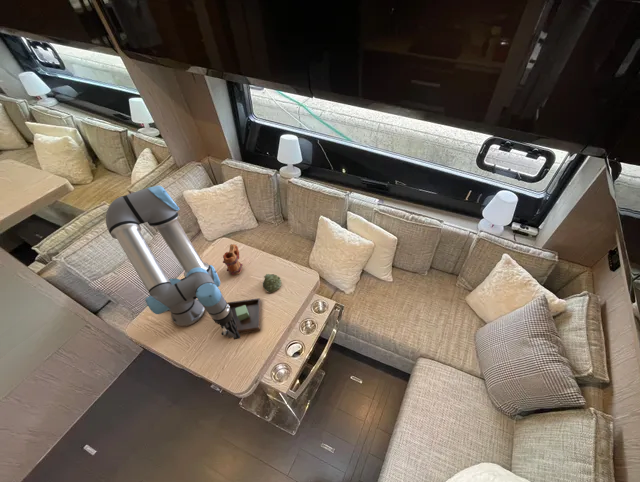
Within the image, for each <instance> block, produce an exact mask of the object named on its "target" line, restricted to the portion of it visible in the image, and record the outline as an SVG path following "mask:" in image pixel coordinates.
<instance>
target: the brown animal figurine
mask: <svg viewBox="0 0 640 482" xmlns="http://www.w3.org/2000/svg"><path fill="white" fill-rule="evenodd" d="M222 259H223V261H222V263H223V264H224V265H226V267H227V268H226V270H225V271H226V272H228V273H229V274H231V275H232V276H237V275H239V274H240V273H241V272H242V269H243V263H241V262H240V261H239V259H240V249H239V248H238V246H237V244H233V243H232V244H230V245H229V251H226V252H224V254H223V255H222Z"/></svg>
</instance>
